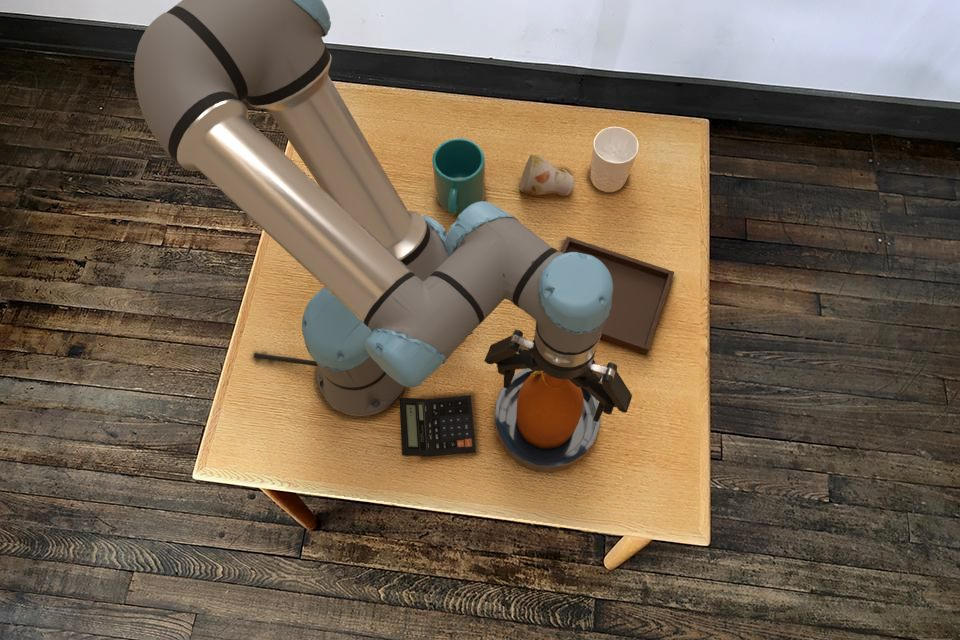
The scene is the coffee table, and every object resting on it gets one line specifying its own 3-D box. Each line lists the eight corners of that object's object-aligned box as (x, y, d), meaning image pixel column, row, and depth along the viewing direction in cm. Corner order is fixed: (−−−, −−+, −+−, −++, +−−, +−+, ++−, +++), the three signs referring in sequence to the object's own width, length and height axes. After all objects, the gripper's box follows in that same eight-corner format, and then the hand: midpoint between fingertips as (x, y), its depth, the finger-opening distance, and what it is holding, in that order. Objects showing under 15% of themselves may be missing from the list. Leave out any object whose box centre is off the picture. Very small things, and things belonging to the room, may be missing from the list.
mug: (575, 208, 139) (552, 186, 130) (529, 206, 144) (504, 185, 136) (584, 170, 140) (561, 146, 131) (538, 169, 145) (514, 146, 137)
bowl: (479, 451, 120) (479, 443, 116) (515, 361, 126) (516, 350, 122) (577, 489, 118) (580, 482, 113) (609, 395, 124) (613, 386, 119)
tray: (536, 317, 130) (537, 310, 127) (565, 243, 135) (567, 235, 133) (645, 355, 127) (648, 349, 124) (671, 278, 132) (674, 271, 130)
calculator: (476, 452, 120) (475, 447, 118) (403, 459, 120) (401, 454, 117) (471, 396, 124) (470, 390, 121) (400, 403, 124) (398, 397, 121)
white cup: (602, 202, 139) (610, 170, 130) (578, 171, 142) (585, 138, 132) (637, 183, 140) (647, 151, 131) (613, 153, 143) (622, 119, 134)
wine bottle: (577, 395, 123) (602, 322, 96) (574, 454, 119) (599, 396, 92) (517, 390, 124) (525, 316, 96) (512, 449, 120) (519, 389, 92)
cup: (428, 225, 137) (423, 191, 127) (441, 171, 142) (438, 134, 132) (477, 233, 136) (476, 199, 126) (488, 178, 141) (488, 141, 131)
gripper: (456, 332, 90) (463, 389, 109) (658, 404, 86) (628, 451, 105) (479, 280, 93) (482, 345, 112) (676, 347, 89) (644, 403, 108)
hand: (553, 396), depth 109 cm, fingers open, 13 cm apart
